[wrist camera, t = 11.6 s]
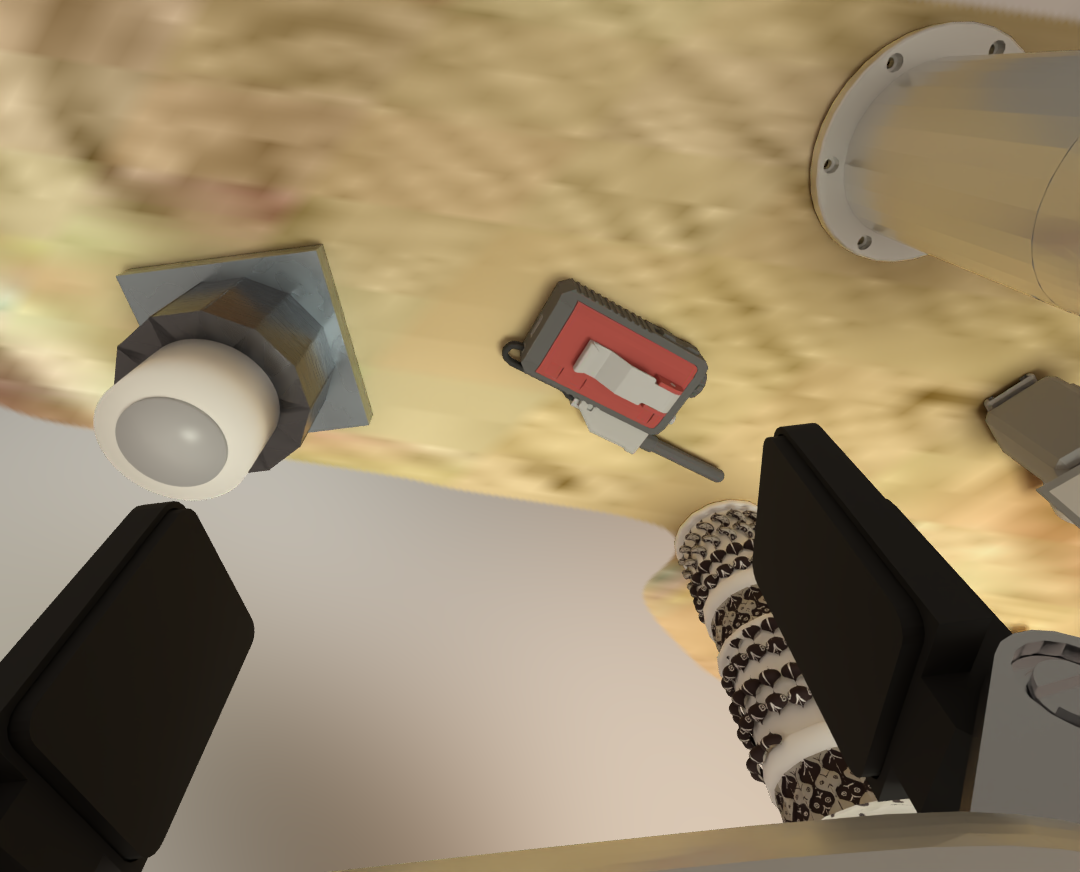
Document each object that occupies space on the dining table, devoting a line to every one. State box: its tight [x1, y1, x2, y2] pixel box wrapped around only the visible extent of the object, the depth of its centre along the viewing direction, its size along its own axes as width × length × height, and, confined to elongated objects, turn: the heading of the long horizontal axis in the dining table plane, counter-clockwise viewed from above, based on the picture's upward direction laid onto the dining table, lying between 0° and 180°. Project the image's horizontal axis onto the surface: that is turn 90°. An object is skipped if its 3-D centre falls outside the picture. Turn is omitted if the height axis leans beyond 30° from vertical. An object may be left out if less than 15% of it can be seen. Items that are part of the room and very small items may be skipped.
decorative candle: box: [674, 499, 917, 823], centre depth 40 cm, size 9×9×25 cm
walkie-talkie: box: [502, 279, 724, 482], centre depth 41 cm, size 9×4×20 cm
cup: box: [94, 339, 280, 501], centre depth 32 cm, size 7×7×8 cm
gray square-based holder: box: [114, 244, 373, 473], centre depth 36 cm, size 12×12×8 cm
